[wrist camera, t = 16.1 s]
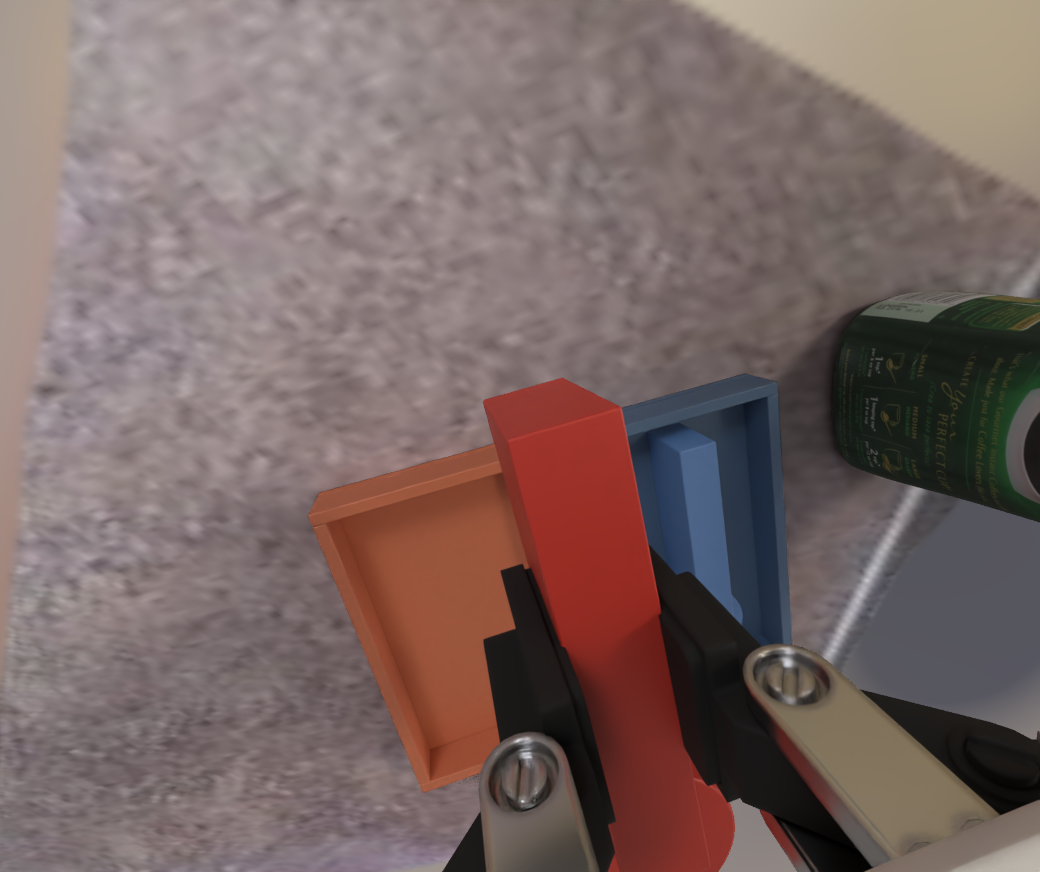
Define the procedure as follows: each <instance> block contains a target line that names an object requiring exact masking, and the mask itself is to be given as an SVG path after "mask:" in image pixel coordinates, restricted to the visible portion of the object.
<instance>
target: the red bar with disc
mask: <svg viewBox="0 0 1040 872" xmlns="http://www.w3.org/2000/svg"><path fill="white" fill-rule="evenodd" d="M483 404H484V408H485V411H486V415H487V418H488V422H489V426H490V429H491V433H492V437H493V440H494V444H495V447H496V451H497V455H498V458H499V462H500V465H501V469H502V473H503V476H504V480H505V483H506V487H507V491H508V494H509V498H510V501H511V505H512V509H513V512H514V516H515V520H516V523H517V527H518V530H519V534H520V538H521V541H522V545H523V548H524V552H525V556H526V559H527V563H528V566H529V568H531V569H532V572H533V574H534V577H535V580H536V582H537V585H538V587H539V590H540V593H541V595H542V598H543V600H544V603H545V606H546V608H547V611H548V613H549V616H550V619H551V621H552V624H553V626H554V629H555V632H556V634H557V637H558V639H559V642H560V645H561V646H562V647H565V648H566V651H567V653H568V656H569V658H570V661H571V663H572V666H573V668H574V671H575V673H576V676H577V678H578V681H579V684H580V686H581V689H582V692H583V695H584V698H585V702H586V705H587V709H588V712H589V716H590V720H591V724H592V728H593V732H594V736H595V740H596V744H597V748H598V752H599V755H600V759H601V763H602V767H603V771H604V775H605V779H606V783H607V787H608V791H609V795H610V799H611V802H612V806H613V810H614V814H615V818H616V822H615V823H612V824H610V825H608V827H609V831H610V834H611V838H612V842H613V846H614V850H615V854H614V857H613V859H612V862H611V865H610V867H609V870H608V872H718V871H719V870H720V868H721V867H722V865H723V864H724V862H725V860H726V858H727V856H728V855H729V852H730V849H731V847H732V843H733V839H734V832H735V823H734V816H733V811H732V808H731V805H730V803H729V802H728V803H727V802H726V800H725V798H724V797H723V795H722V793H721V792H720V790H719V788H718V787H717V785H716V784H713V785H711V786H707V785H706V784H705V782H704V781H703V779H702V778H701V776H700V774H699V772H698V771H697V769H696V767H695V765H694V764H693V762H692V760H691V758H690V757H689V755H688V753H687V751H686V750H685V748H684V744H683V739H682V734H681V729H680V724H679V719H678V714H677V709H676V703H675V698H674V693H673V688H672V683H671V678H670V673H669V667H668V662H667V657H666V652H665V647H664V642H663V637H662V632H661V626H660V621H659V616H658V615H660V614H661V607H660V602H659V597H658V592H657V587H656V582H655V576H654V571H653V566H652V561H651V556H650V551H649V545H648V540H647V535H646V530H645V525H644V520H643V515H642V509H641V504H640V499H639V494H638V489H637V484H636V479H635V473H634V468H633V463H632V458H631V453H630V448H629V442H628V437H627V432H626V427H625V422H624V417H623V412H622V408H621V407H620V406H618V405H616V404H614V403H612V402H610V401H608V400H606V399H604V398H602V397H600V396H598V395H596V394H594V393H592V392H590V391H588V390H586V389H584V388H582V387H580V386H578V385H576V384H574V383H572V382H570V381H568V380H566V379H564V378H560V379H556V380H553V381H549V382H546V383H542V384H539V385H535V386H532V387H528V388H524V389H521V390H517V391H514V392H510V393H507V394H503V395H500V396H496V397H493V398H489V399H485V400H484V401H483Z"/></svg>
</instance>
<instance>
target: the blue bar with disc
mask: <svg viewBox="0 0 1040 872" xmlns="http://www.w3.org/2000/svg"><path fill="white" fill-rule="evenodd" d="M647 434H648V441H649V448H650V454H651V461H652V468H653V474H654V481H655V488H656V494H657V501H658V508H659V514H660V521H661V528H662V534H663V541H664V548H665V554H666V561H667V565H668V566H669V567H670V568H671V569H672V570H673V571H674V573H675V574H676V575H677V574H680V573H683V572H686V571H687V572H691V573H692V574H693V575H694V576H695V577H696V578H697V579H698V580H699V581H700V582H701V583H702V584H703V585H704V586H705V587H706V588H707V589H708V590H709V591H710V593H711V594H712V595H713V596H714V597H715V598H716V599H717V600H718V601H719V602H720V603H721V604H722V605H723V606H724V607H725V608H726V609H727V610H728V611H729V612H730V614H731V615H732V616H733V617H734V618H735V619H736V620H737V621H738V622H739V623H740V624H741V625H742V610H741V607H740V605H739V603H738V601H737V600H736V599H735V598H734V597H733V596H732V595H731V585H730V575H729V566H728V556H727V546H726V536H725V526H724V517H723V507H722V497H721V487H720V478H719V468H718V458H717V448H716V442H715V441H713V440H711V439H709V438H708V437H706V436H704V435H702V434H700V433H698V432H696V431H694V430H692V429H690V428H688V427H687V426H685V425H683V424H681V423H676V424H672V425H669V426H665V427H662V428H658V429H655V430H651V431H648V432H647Z"/></svg>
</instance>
